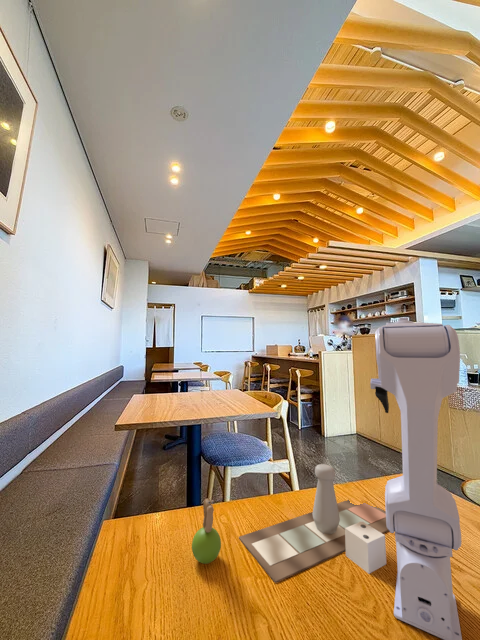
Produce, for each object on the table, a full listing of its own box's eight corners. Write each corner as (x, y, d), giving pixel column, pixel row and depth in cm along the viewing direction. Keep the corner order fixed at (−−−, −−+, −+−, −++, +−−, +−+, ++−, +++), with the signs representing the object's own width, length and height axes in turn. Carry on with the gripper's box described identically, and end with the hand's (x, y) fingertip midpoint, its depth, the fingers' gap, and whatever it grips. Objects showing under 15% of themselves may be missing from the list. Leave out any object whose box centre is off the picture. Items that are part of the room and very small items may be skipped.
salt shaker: (316, 517, 65) (315, 459, 66) (342, 525, 62) (340, 464, 64) (309, 531, 60) (308, 467, 61) (336, 540, 57) (335, 473, 59)
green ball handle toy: (193, 578, 47) (195, 503, 49) (190, 553, 53) (192, 486, 55) (224, 572, 49) (225, 499, 50) (217, 548, 55) (219, 483, 56)
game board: (275, 583, 46) (275, 580, 46) (238, 538, 58) (238, 536, 58) (405, 523, 64) (405, 521, 64) (357, 497, 75) (357, 496, 75)
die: (368, 574, 49) (367, 542, 49) (345, 556, 53) (344, 527, 54) (386, 564, 51) (384, 534, 52) (363, 548, 55) (361, 520, 56)
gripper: (438, 361, 65) (437, 406, 70) (371, 357, 73) (374, 398, 77) (441, 379, 59) (439, 427, 64) (368, 373, 67) (371, 416, 72)
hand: (404, 412), depth 71 cm, fingers open, 7 cm apart
